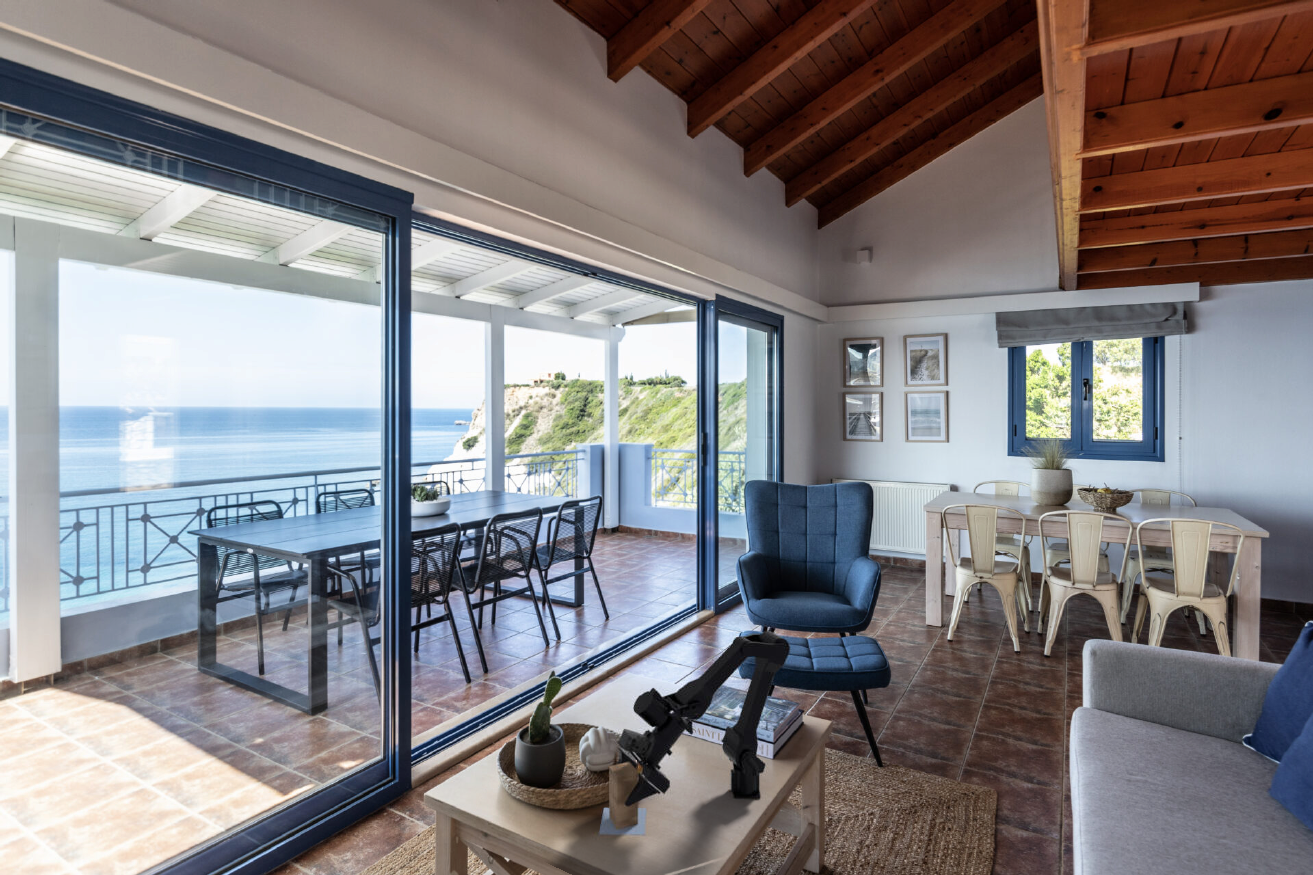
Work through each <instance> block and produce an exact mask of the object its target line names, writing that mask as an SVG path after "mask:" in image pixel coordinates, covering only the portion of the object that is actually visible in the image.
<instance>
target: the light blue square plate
mask: <svg viewBox="0 0 1313 875" xmlns="http://www.w3.org/2000/svg"><path fill="white" fill-rule="evenodd" d="M647 809H648V808H643V807H642V808H639V807H638V824H637V825H633V826H630V827H626V828H622V829H618V830H617V829H616V827H615V826H614V824H613V822H612V821H611V819H610V818H609V807H603V812H602V816H601V821H600V827H599V832H598V835H612V836H613V835H615V836H616V835H617V836H618V835H620V836H626V835H627V836H645V833H646V823H647V822H646V820H647V811H648V810H647Z"/></svg>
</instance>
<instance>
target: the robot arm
mask: <svg viewBox="0 0 1313 875" xmlns="http://www.w3.org/2000/svg"><path fill="white" fill-rule="evenodd" d="M790 652H791V646H790V644H789V641H788V640H787V639H785V638H783V637H782V636H780V635H778V634H776V633H774V632H772V631H770V630H766V631H763V632H762V633H751V634H748V635H745V636H736V637H735V638H734V639H733V640H732V643H731V644H730V645H729V646H728V647H727V649H725V650H724V652H722V654H721V655H720V656H719V657H718V658H716V660H715V661H713V663H712V664H711V665H710V666H709V667H708V668H707V670H705V672H703V673H702V674H701V675H700V676H699V677H698V678H696V679H693V680H690V681H688V682H687V683H686V684H684V685H683V686H682V687H680V688H679V689H678V690H677V691H676V692H673V693H670V694H666V695H664V696H662V695H661V693H660V692H659V691H658V690H656V688H655V687H652V688H651V689H650V690H649V691H645V692H643V693H642V694H640V695H638V697H637V698H636V699H635V701H634V704H633V707H632V708H633V712H634V713H635V714H636V715H637V716H639V718H641V720H643V721H644V722H645V723H647V724H648V726H649V727H652V728H653V729H652V730H651V731H650V730H649V729H647V730H645V731H644V733H643V734H642V733H640V732H638V731H633V730H630V729H627V728H623V730H622V733H621V735H620V738H619V740H618V741H617V745H619V746H617V750H618V761H617V763H616V765H617V764H622V763H626V762H630V763H631V764H632V765H633V767H634V768H636V767H637V766H638V764H637V763H636V761H635V759H636V760H637V762H638V763H639V764H640V765H641V767H642V768H643V769H642V774H640V773H639V774H638V783H637V784H636V786H635V787H634V789H633V790H632V792H631V793H630V795H629V796H628V798H627V800H626V801H625V805H626V806H627V807H628V806H630V805H632V804H634V803H636V802H638V803H639V802H640V801H642V800H644V799H647V798H649V797H652V796H654V795H657V794H658V795H661V793H662V794H663V795H665V794H666V793H667V792H668V790H669V789H670V788H671V781H670V779H669V778H668V777H667V776H666V775H665V774H664V773H663V772H662V771H661V769H662V767H661V765H660V763H661V762H662V760H663V759H664V758H665V757H666V755H668V756H669V757H670V756H672V754H673V751H672V750H671V749H672V747H674V745H675V743H676V742H677V741H678V740H679V739H680V737H681V736H682V735H683V733H684V732H685V731H686V732H687V733H688V734H689V735H693V734H694V729H693V724H694V722H693V721H697V720H700V719H701V718H702V717H703V716H704V715H705V714H706V712H707V710H708V709H709V707H710V706H711V704H712V701H713V698H714V695H715V694H716V692H717V691H718V690H719V689H720V688H721V687H722V686H723V685H724V684H725V683H726V681H728V679H729V678H730V677H731V676H732V675H733V674H734V673H735V672H736V671H737V669H739V668H740V666H742V664H743V663H745V661H746V660H747V659H748V658H754V662H755V667H754V671H753V673H752V677H751V681H750V683H749V686H748V689H747V692H746V695H745V698H744V701H743V705H742V707H741V711H740V713H739V716H738V720H737V722H736V723H735V724H734V725H733V726H732V727H730V726H729V725H728V726H726V728H725V732H724V736H723V738H722V739H721V743H722V745H721V746H722V751H723V753H724V755H725V756H726V757H727V758H728V759H729V761H730V762H731V763H732V768H731V769H730V780H729V781H730V790H731V792H732V794H733V795H732V796H733V798H737V799H739V798H740V799H760V798H761V791H760V780H761V779H760V778H761V777H760V776H761V774H763V773H764V771H765V768H766V763H765V762H764V761H763V760H761V759H760V758H759V757H758V756H757V752H758V747H759V742H758V728H759V723H760V721H761V718H762V714H763V712H764V709H765V705H766V702H767V699H768V696H769V692H770V691H771V690H770V689H771V687H772V684H773V681H774V677H775V674H776V673H777V672H778V671H779V670H780V669H781V668H782V667H784V665H785V663H786V661H787V659H788V657H789V654H790ZM671 712H672V713H671Z"/></svg>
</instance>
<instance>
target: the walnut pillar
mask: <svg viewBox="0 0 1313 875" xmlns="http://www.w3.org/2000/svg"><path fill="white" fill-rule="evenodd" d="M608 770H609V771H608V778H609V780H608V781H609V782H608V784H609V785H608V786H609V787H608V789H609V791H608V795H609V800H608V803H609V804H608V806H609V807H608V808H609V818H610V819H611V821H612V822H613V824H614V826H615V827H616V829H617V830H618V829H622V828H626V827H630V826H633V825H637V824H638V808H639V801H638V802H636V803H634V804H632V805H630V806H628V807H627V806H626V805H625V801H626V800H627V798H628V796H629V795H630V793H631V792H632V790H633V789H634V787H635V786H636V784H637V783H638V772H637V770H636V769H635V768H634V767H633V765H632V764H631V763H630V762H626V763H622V764H617V763H616V764H614V765H609V768H608Z"/></svg>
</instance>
